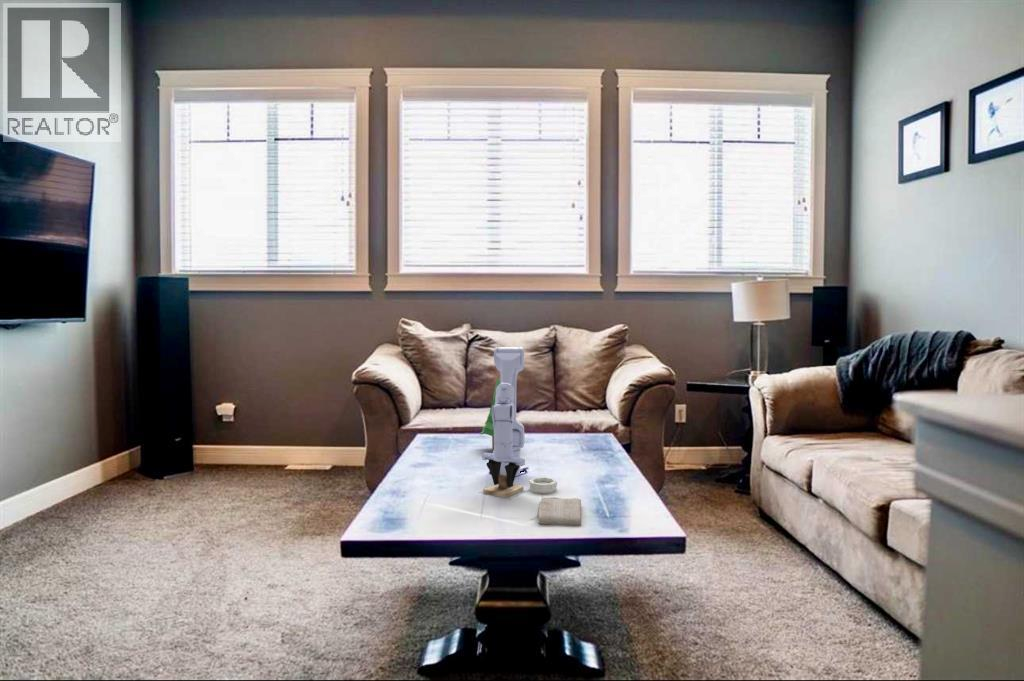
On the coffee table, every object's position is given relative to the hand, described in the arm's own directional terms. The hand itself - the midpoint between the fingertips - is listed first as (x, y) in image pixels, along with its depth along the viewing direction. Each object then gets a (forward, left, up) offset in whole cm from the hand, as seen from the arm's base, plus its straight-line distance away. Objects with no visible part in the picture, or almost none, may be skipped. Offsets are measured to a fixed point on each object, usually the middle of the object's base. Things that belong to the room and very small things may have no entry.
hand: (503, 485), depth 198 cm
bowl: (+9, +9, -2) cm, 13 cm away
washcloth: (+24, -7, -3) cm, 25 cm away
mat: (0, 0, -2) cm, 2 cm away
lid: (0, 0, -2) cm, 2 cm away
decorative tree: (-34, +47, -3) cm, 58 cm away
